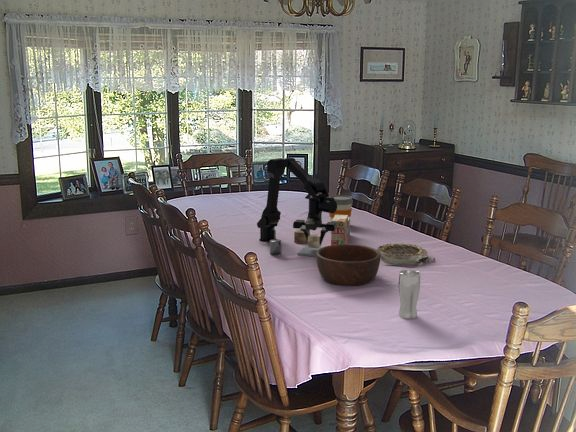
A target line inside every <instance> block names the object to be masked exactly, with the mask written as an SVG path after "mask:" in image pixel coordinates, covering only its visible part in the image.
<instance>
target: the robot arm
mask: <svg viewBox="0 0 576 432" xmlns="http://www.w3.org/2000/svg"><path fill="white" fill-rule="evenodd" d="M286 168H287V170H289V172H290V173H292V174H293V175H294V176H295V177H296V178H297V180H298V181H300V182H301V184H302V185H303V188H304V191H306V193H307V195H306V196H305V197H304V198H305V199H307V200H308V212H307V217H306V220H305V219H295V220H294V222H293V223H292V228H293V229H296V230H301V231H303V232H304V234H305V236H306V239H307V241H306V242H307V243H308V236H309V235H310V234H311V231H316V230H317V229H321V230H320V231H319V232H320V233H319V234H321V235H320V245H321V244H323V241H324V238H325V235H326V233H328V232H331V231H335V230H336V229H337V224H336V222H331V221H327V222H326V223H323V220H322V217H323V216H322V214H323V213H328V214H329V213H332V214H333V213H335V211H336V210H337V203H336V201H335V200H334V197H329V196H330V194H329V192H328V191H327V188H326V187H325V184H324V182H323V181H322V180H320V179H318V177H314V176H312V175H311V174H310V173H309V171H307V170H306V169H305V168H304V167H303V166H301V165H300V164H299V162H298V161H296V159H295V158H294V157H286V158H281V157H278V158H272V159H269V160H267V163H266V173H267V174H268V176H269V179H268V180H269V181H268V189H267V198H266V199H267V200H266V205H265V207H264V209H263V211H262V212H261V213H262V214H261V218H260V219H259V220H258V221H257V223H256V226H257V229H259V231H260V232H259V233H260V234H259V235H260V236H259V239H258V241H263V242H270V240H272V239H277V233H276V232H277V231H276V229H275V227H278V223H279V222H280V220H281V213H282V212H281V211H279V209H278V200H279V192H280V186H281V185H280V184H281V178H282V177H283V175H284V173H285V170H286ZM321 246H322V245H321Z"/></svg>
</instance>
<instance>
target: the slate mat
mask: <svg viewBox="0 0 576 432" xmlns="http://www.w3.org/2000/svg"><path fill="white" fill-rule="evenodd" d="M320 248H322V246H320ZM320 248H309V247H308V245H305V246H304V247H303V248H302V249H300V250H299V252H298V253H297V256H303V257H304V256H305V257H315V258H316V252H317V251H318V250H319V249H320Z"/></svg>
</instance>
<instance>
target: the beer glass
mask: <svg viewBox="0 0 576 432" xmlns="http://www.w3.org/2000/svg"><path fill="white" fill-rule="evenodd" d="M420 291H421V272H420V271H418V270H415V269H401V270H400V271H399V277H398V294H399V295H398V296H399V311H398V316H399V317H400V319H401V318H402V319H405V320H414V319H416V318H417V317H418V309H417V305H418V300H419V296H420Z"/></svg>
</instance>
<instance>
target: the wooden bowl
mask: <svg viewBox="0 0 576 432" xmlns="http://www.w3.org/2000/svg"><path fill="white" fill-rule="evenodd" d="M321 247H322V246H321ZM381 257H382V256H381V254H380V252H379V251H378V250H377V249H376V248H373V247H370V246H367V245H359V244H352V243H349V244H348V243H346V244H338V245H331V244H329V245H326V246H324V247H322V248H320V249H319V250H318V251H317V252H316V257H315V258H316V264H317V269H318V270H317V271H318V272H319V274H320V276H321V277H322V279H323V280H324V281H326V282H327V283H330V284H334V285H337V286H338V285H339V286H350V287H351V286H352V287H353V286H361V285H362V286H363V285H366V284H369V283H370V282H372V281H373V280H374V279H375V278H376V275H377V274H378V272H379V268H380V264H381V260H382V258H381Z"/></svg>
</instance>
